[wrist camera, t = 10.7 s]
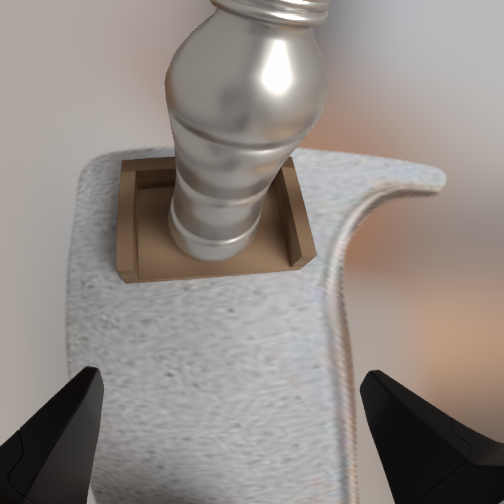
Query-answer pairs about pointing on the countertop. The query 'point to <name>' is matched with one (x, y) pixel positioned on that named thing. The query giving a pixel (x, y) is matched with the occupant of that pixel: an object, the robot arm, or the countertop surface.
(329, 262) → the countertop surface
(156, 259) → the bottle stand
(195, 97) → the silver metal bottle
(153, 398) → the countertop surface
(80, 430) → the robot arm
